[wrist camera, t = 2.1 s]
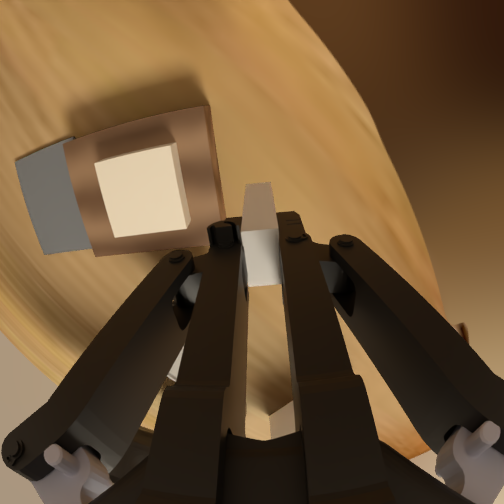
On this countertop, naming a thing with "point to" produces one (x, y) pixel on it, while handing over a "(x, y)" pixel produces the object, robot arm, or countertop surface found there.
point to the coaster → (144, 191)
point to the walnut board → (141, 137)
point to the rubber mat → (52, 200)
